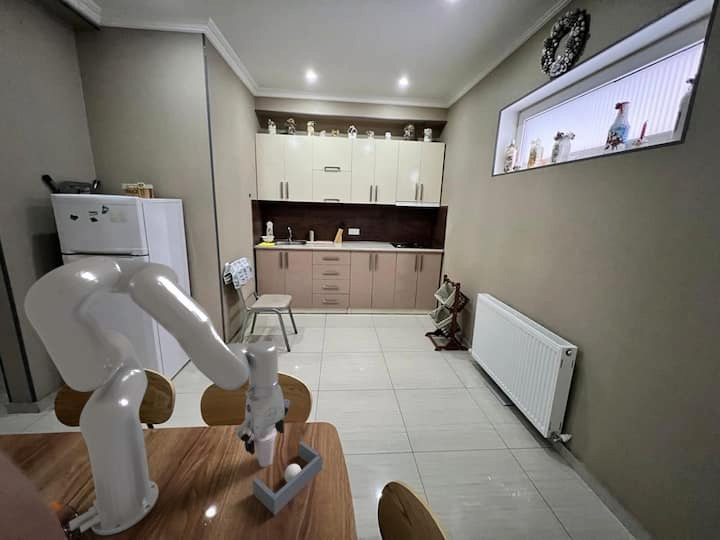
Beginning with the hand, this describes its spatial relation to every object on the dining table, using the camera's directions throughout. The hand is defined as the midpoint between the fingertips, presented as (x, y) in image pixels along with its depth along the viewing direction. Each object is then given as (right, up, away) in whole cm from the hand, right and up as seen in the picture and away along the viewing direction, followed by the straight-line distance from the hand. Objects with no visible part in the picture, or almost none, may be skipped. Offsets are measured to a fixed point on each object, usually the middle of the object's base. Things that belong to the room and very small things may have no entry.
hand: (265, 440), depth 81 cm
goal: (+8, -8, -5) cm, 13 cm away
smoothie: (0, -7, +1) cm, 7 cm away
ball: (+9, -6, -5) cm, 12 cm away
